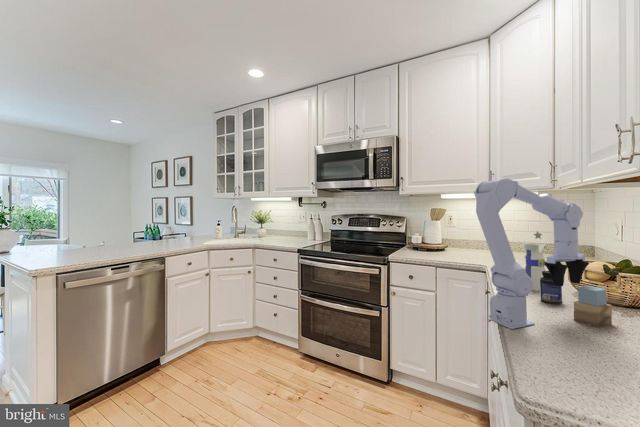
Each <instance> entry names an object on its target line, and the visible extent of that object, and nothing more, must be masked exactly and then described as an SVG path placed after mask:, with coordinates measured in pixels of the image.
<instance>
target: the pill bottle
mask: <svg viewBox="0 0 640 427" xmlns="http://www.w3.org/2000/svg"><path fill="white" fill-rule="evenodd" d="M542 275H543V277H542V278H541V279H540V291H539V293H540V301H542V302H543V303H547V304H552V305H562V303H563V292H562V290H563V288H562V287H563V286H557V285H554V282H553V279H552V277H551V274H550V272H549V270H546V271H542Z"/></svg>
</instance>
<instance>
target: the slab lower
mask: <svg viewBox="0 0 640 427" xmlns="http://www.w3.org/2000/svg"><path fill="white" fill-rule="evenodd" d="M612 316H613V315H611V316H607V317H602V318H596V317H592V316H589V315H585V314H582V313H578V312H574V311H573V321H574V322H575V321H576V322H579V323H581V324H582V323H583V324H586V325H588V326H592V327H596V328H603V327H606V326H611V325H612V324H613V323H612V322H613V321H612Z"/></svg>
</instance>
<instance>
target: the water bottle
mask: <svg viewBox="0 0 640 427" xmlns="http://www.w3.org/2000/svg"><path fill="white" fill-rule="evenodd" d="M533 235H534V236H535V239H536V240H537V239H540V240H541V239H542V237H541V236H542V235H543V233H540V232H539V231H536V233H533ZM522 248H523V249H525V256H524V259H525V265H524V269H525V271H526V273H527V275H528V276H529V277H530V278H531V279H532V282H533V287H532V290H531V291H535V292H536V291H539V292H540V279H541V278H542V277H543V275H542V271H547V270H546V266H545V262H546V260H545V258H546V257H545V256H544V249H545V250H547V244H546V243H542V242H524V243H523V245H522Z"/></svg>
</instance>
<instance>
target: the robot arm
mask: <svg viewBox="0 0 640 427" xmlns="http://www.w3.org/2000/svg"><path fill="white" fill-rule="evenodd" d="M473 194H474V197H475V199H476V204H475V207H476V208H475V213H476V216H477V219H478V221H479V224H480V228H481V229H482V232H483V236H484V239H485V241H486V244H487V246H488V249H489V252H490V255H491V258H492V261H493V262H494V265H492V266H491V267H490V271H491V272H490V273H491V283H492V285H493V286H494V287H495V290H496V291H497V293H496V294H495V295H493V296H491V298H490V299H489V300H490V301H489V310H490V312H489V314H490V315H489V317H488V318H487V319H488V321H491V322H493V323H495V324H498V325H500V326H503V327H506V328H508V329H510V330H514V329H518V328H519V329H520V328H524V327H528V326H532V325H535V322H534V321H531V320H528V315H527V314H528V312H527V311H528V310H527V309H528V308H527V296H529V294H530V293H531V292H532V291H533V290H532V287H533V282H532V279H531V278H530V277H529V276H528V275H527V273H526V271H525V267H523V266H522V265H521V264H520V263H518V262H517V261H516V257H515V256H514V253H513V250H512V247H511V244H510V241H509V239H508V236H507V233H506V230H505V228H504V225H503V222H502V220H501V219H502V218H501V216H500V214H499V213H500V212H501V210H502V209H503V208H504V207H505V206H506V205H507V204H508V203H509V202H510V201H512V199H515V200H519V201H521V202H524V203H525V204H529V205H531V207H532V209H533V210H534V211H536V212H538V213H540V214H543V215H545V216H546V217H547V216H548V218H549V220H550V221H552V222H553V250H554V251H553V253H554V254H551V255H548V256H546V261H545V268H547V271H549V272H550V274H551V277H552V279H553V282H554V285H557V286H562V287H564V283H565V274H566V271H567V270H568V274H569V276H568V277H569V280H570V283H571V284H577V285H579V284H581V280H582V277H583V274H584V272H585V270H586V268H587V267H588V266H589V263H590V262H589V261H587V260H586V254H585V253H579V231H578V228H579V227H580V226H581V219H582V218H583V215H584V212H583V210H582V208H581V207H580V206H579V205H577V204H576V203H567V202H565V200H563V199H558V198H556V197H554V196H553V194H551V193H550V192H549V193H541V194H538V193H536V192H534V191H532V190H530V189H528V188H526V187H524V186H523V185H520V183H519V181H516V180H513V179H511V178H508V177H505V178H501V179H494V180H489V181H481V182H480V183H479V184H478V185H477V187H476V188H475V191H474V192H473ZM563 263H565V264H563Z"/></svg>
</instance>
